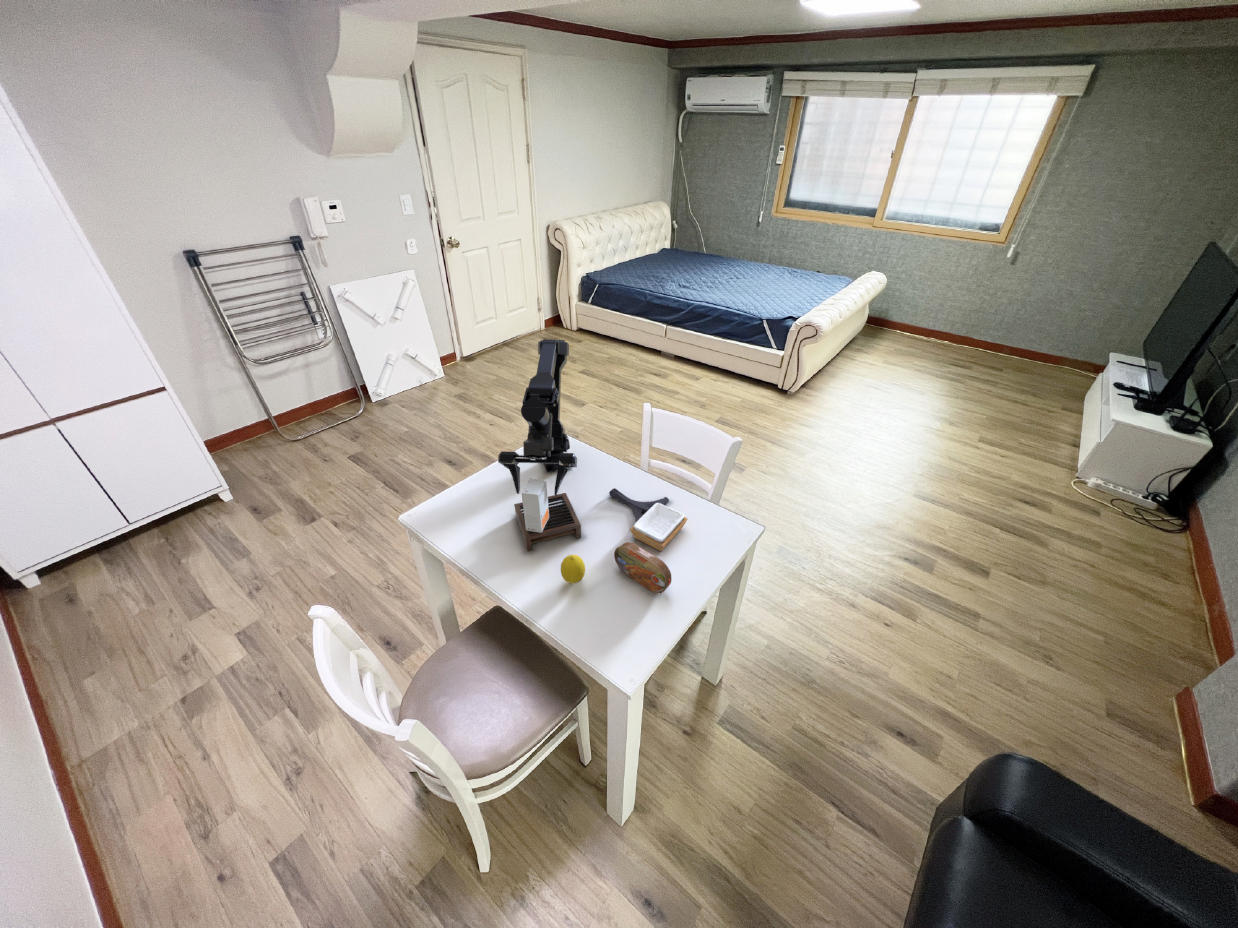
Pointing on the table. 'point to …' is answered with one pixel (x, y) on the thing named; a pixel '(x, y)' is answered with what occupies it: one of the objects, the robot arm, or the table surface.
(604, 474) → the table surface
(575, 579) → the lemon
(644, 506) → the bracket
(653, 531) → the soap dish
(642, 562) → the tin
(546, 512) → the cosmetic box
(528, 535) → the shoe rack
